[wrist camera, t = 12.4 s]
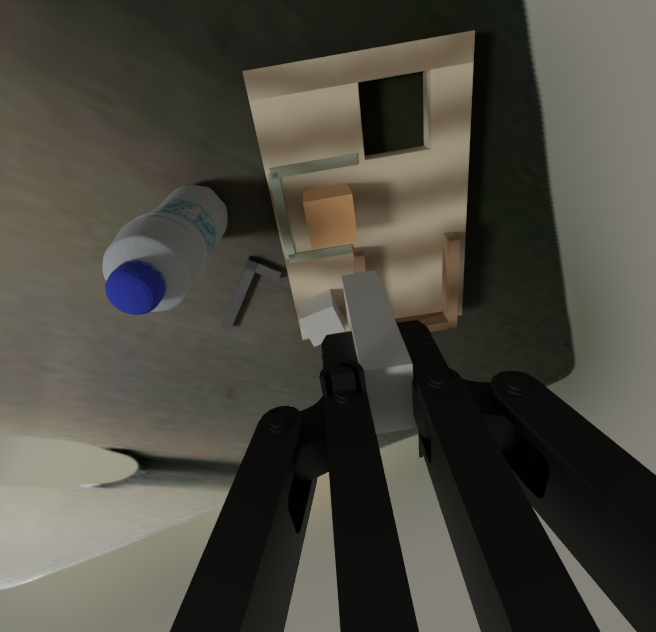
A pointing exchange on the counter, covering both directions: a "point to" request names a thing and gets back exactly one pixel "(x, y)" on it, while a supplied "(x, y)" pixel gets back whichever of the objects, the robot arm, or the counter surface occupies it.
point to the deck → (369, 168)
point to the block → (321, 317)
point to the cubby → (449, 285)
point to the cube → (330, 215)
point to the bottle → (164, 251)
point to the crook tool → (246, 278)
